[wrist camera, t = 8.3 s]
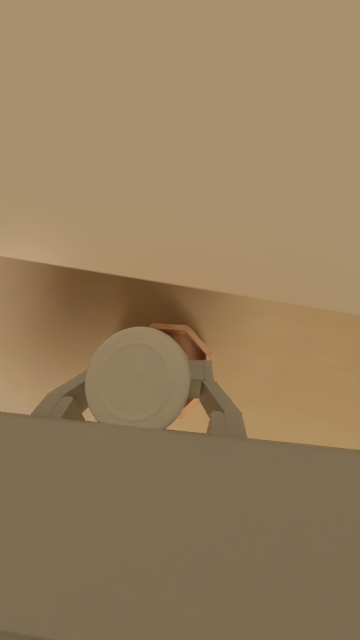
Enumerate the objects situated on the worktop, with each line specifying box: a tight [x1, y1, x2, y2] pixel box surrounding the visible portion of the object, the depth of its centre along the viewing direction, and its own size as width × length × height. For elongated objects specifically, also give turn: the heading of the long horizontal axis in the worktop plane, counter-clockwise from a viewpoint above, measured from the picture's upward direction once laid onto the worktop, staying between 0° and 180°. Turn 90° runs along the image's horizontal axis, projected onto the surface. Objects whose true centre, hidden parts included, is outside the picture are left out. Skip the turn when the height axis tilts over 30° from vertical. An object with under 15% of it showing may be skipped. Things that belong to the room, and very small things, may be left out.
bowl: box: [149, 323, 212, 419], centre depth 19 cm, size 9×9×4 cm
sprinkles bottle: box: [85, 327, 191, 429], centre depth 13 cm, size 5×5×13 cm
